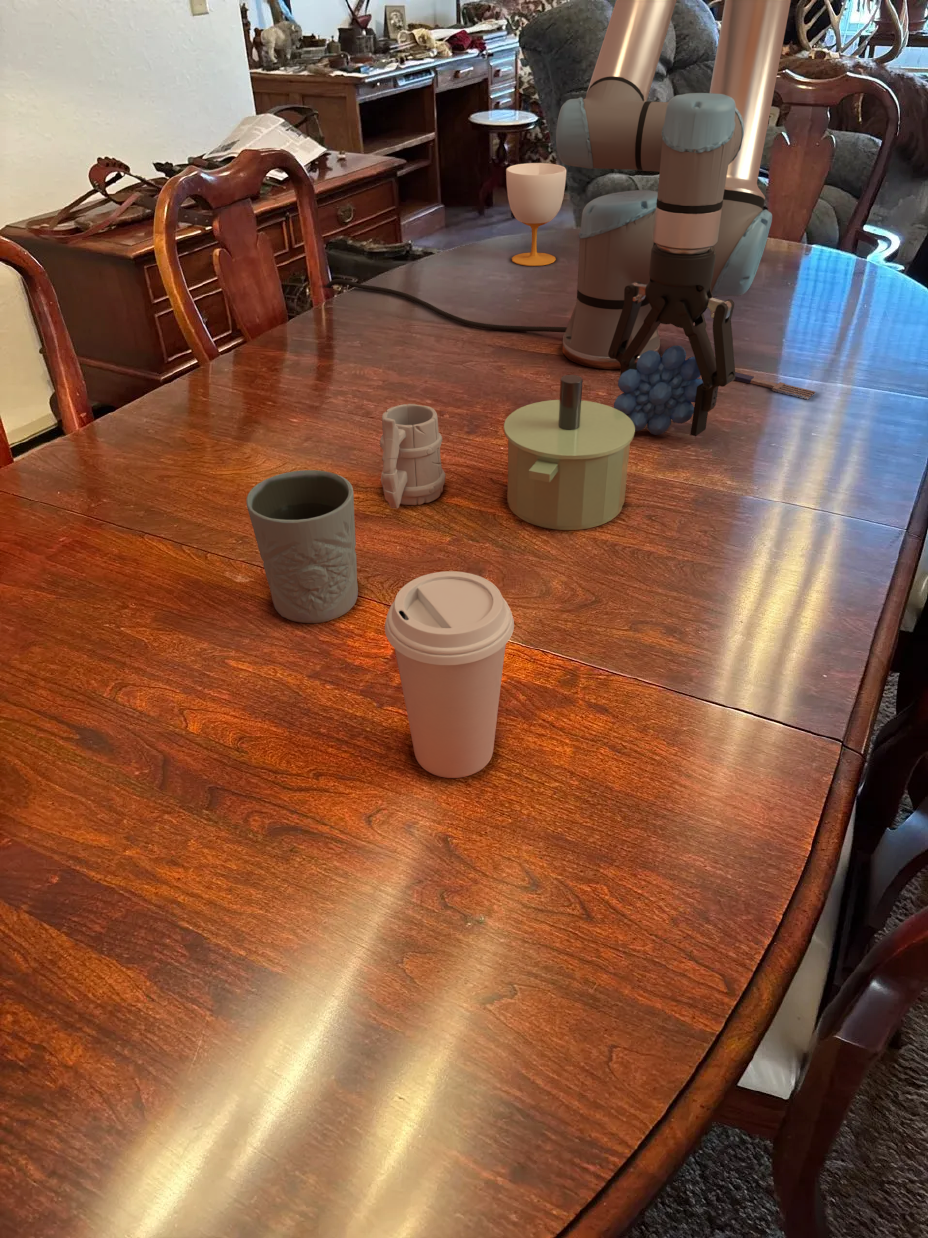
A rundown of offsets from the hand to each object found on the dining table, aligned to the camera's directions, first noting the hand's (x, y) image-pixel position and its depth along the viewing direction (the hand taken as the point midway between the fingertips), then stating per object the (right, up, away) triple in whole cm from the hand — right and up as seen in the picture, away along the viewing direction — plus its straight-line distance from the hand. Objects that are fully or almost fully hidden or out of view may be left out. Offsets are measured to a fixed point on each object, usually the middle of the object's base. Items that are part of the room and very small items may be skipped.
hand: (663, 421), depth 122 cm
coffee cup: (-27, -37, -46) cm, 65 cm away
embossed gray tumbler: (-42, -24, -28) cm, 56 cm away
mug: (-33, -12, -12) cm, 37 cm away
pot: (-14, -12, -13) cm, 23 cm away
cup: (-12, +47, +67) cm, 83 cm away
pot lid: (-15, -5, -19) cm, 24 cm away
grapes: (-1, -1, +1) cm, 2 cm away
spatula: (+15, +10, +15) cm, 23 cm away
